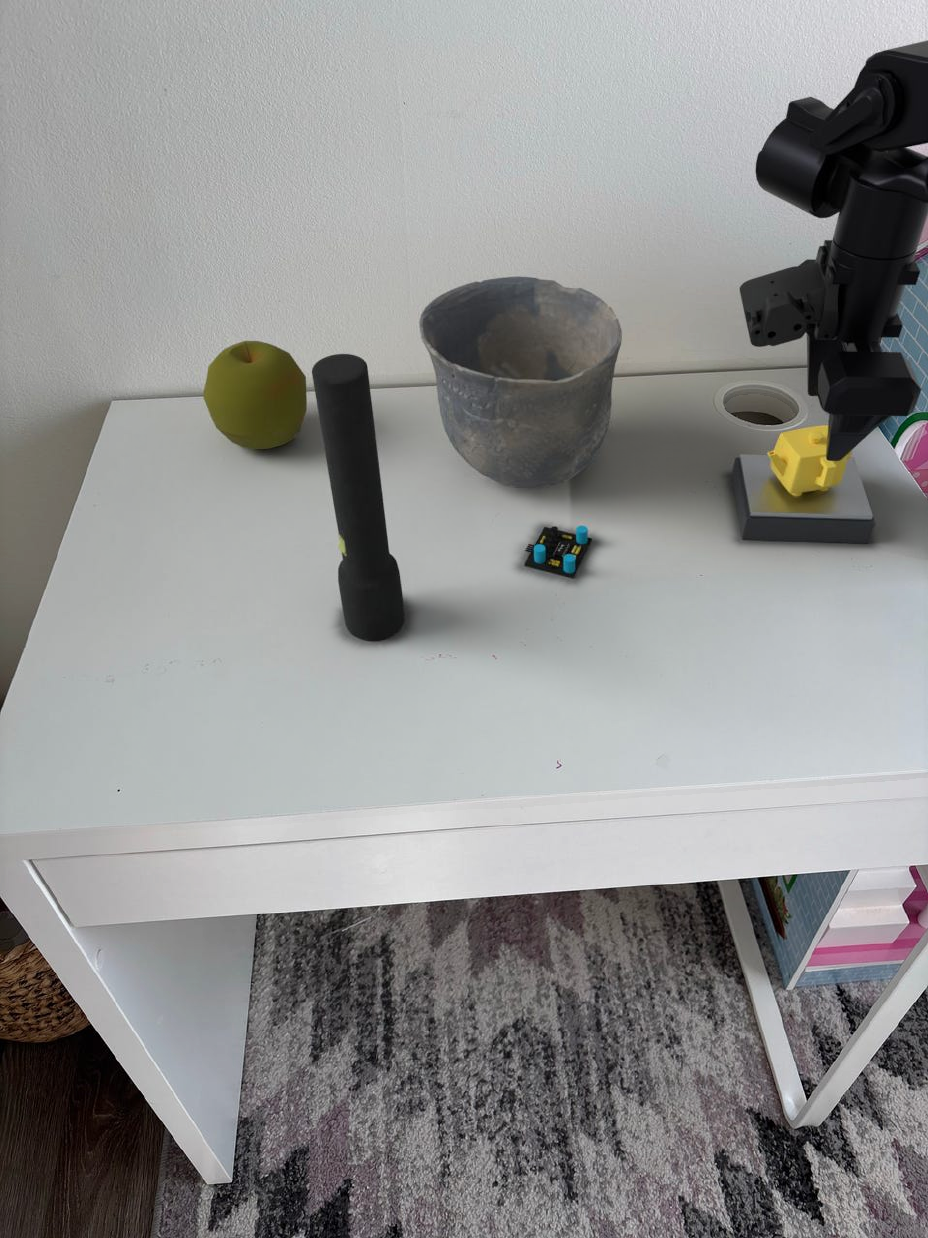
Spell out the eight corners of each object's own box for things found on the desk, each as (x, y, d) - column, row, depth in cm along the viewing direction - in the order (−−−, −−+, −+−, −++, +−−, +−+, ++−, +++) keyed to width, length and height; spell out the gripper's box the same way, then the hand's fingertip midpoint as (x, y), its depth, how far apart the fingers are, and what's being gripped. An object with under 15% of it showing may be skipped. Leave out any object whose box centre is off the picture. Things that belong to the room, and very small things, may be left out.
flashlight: (389, 590, 83) (335, 611, 81) (358, 338, 66) (289, 359, 64) (414, 627, 80) (360, 649, 78) (389, 373, 62) (318, 395, 61)
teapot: (776, 513, 84) (789, 465, 80) (748, 473, 88) (759, 426, 84) (861, 498, 85) (877, 450, 81) (829, 459, 89) (843, 412, 85)
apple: (213, 470, 95) (186, 373, 87) (220, 414, 102) (197, 319, 94) (314, 462, 96) (297, 365, 88) (315, 407, 103) (299, 312, 95)
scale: (851, 480, 91) (860, 454, 89) (871, 543, 85) (881, 518, 83) (730, 477, 92) (736, 451, 90) (741, 539, 86) (747, 514, 84)
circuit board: (540, 513, 87) (593, 526, 85) (539, 527, 88) (591, 540, 87) (519, 549, 84) (574, 564, 82) (519, 564, 85) (573, 578, 83)
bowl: (415, 515, 90) (403, 375, 79) (439, 407, 102) (431, 273, 91) (608, 524, 88) (622, 382, 77) (608, 413, 100) (621, 277, 89)
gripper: (744, 187, 75) (713, 363, 87) (776, 304, 63) (735, 494, 74) (891, 187, 74) (841, 366, 86) (954, 307, 62) (885, 498, 73)
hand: (823, 426), depth 79 cm, fingers open, 9 cm apart
